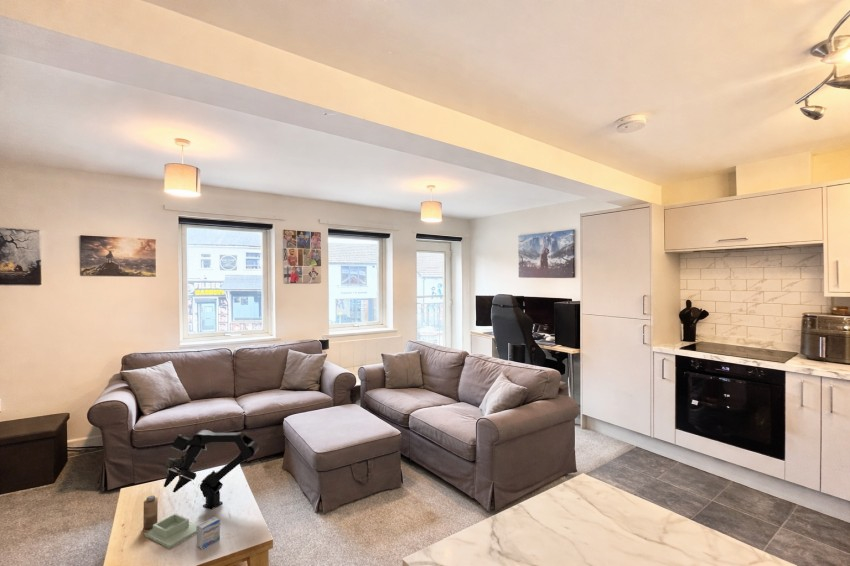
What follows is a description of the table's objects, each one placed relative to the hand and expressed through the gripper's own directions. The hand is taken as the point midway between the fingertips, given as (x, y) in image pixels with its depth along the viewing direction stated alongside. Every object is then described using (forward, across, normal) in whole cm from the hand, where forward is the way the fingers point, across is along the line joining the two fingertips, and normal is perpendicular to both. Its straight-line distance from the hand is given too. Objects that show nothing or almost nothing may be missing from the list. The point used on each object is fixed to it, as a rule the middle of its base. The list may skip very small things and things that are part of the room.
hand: (169, 489), depth 185 cm
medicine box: (+10, +32, +10) cm, 35 cm away
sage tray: (+13, +14, +5) cm, 20 cm away
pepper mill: (+15, 0, +2) cm, 15 cm away
